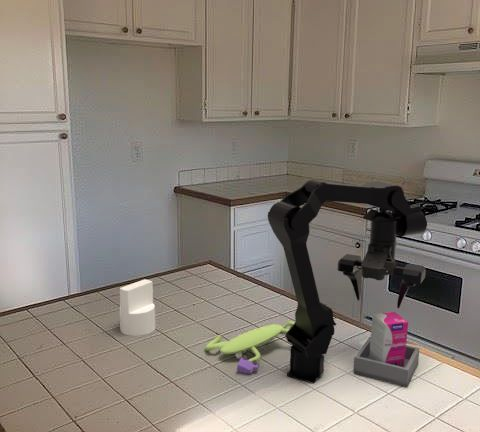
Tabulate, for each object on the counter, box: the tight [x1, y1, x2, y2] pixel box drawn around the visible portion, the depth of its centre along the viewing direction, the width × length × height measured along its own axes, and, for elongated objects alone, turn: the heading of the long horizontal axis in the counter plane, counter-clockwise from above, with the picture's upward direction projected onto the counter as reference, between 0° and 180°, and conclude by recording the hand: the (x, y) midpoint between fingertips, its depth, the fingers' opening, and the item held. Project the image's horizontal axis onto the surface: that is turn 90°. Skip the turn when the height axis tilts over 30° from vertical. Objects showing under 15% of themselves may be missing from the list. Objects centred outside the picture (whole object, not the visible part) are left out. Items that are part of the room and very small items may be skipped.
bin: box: [352, 336, 421, 388], centre depth 121 cm, size 12×12×4 cm
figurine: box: [204, 320, 295, 375], centre depth 128 cm, size 18×27×6 cm
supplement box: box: [369, 311, 409, 367], centre depth 120 cm, size 6×6×12 cm
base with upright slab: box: [119, 278, 156, 337], centre depth 140 cm, size 9×9×12 cm
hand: (378, 303), depth 125 cm, fingers open, 9 cm apart
